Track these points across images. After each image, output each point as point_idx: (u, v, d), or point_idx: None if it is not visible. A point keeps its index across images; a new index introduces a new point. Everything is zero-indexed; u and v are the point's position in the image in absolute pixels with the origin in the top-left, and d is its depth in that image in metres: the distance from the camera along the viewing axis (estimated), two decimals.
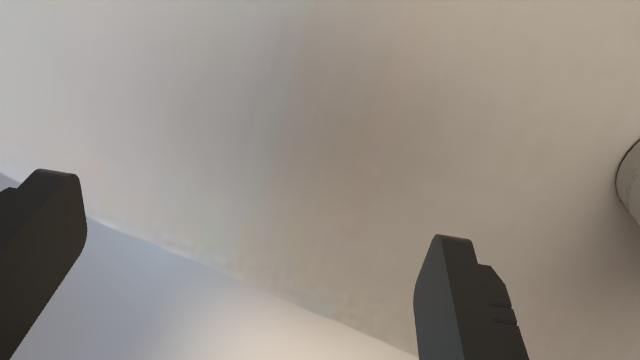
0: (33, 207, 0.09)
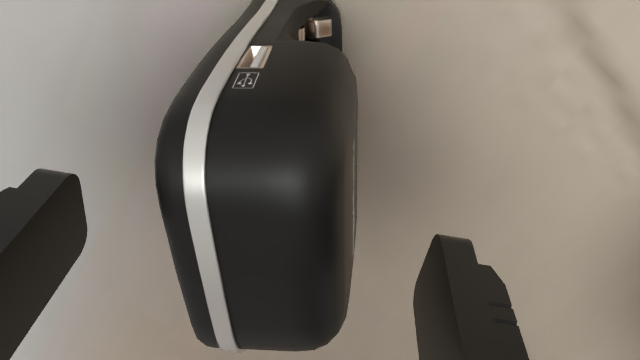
0: (33, 207, 0.09)
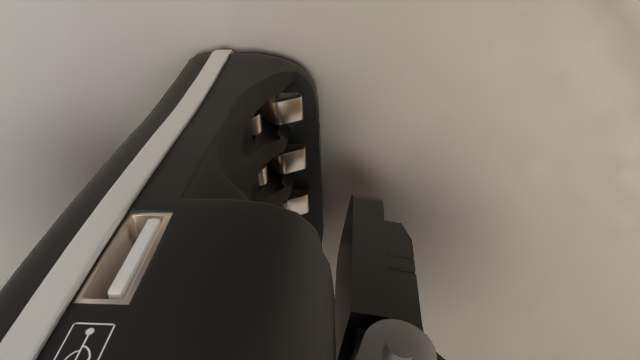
0: None
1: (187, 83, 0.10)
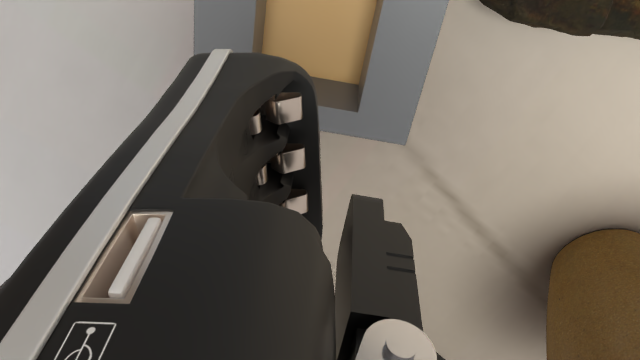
0: None
1: (187, 82, 0.10)
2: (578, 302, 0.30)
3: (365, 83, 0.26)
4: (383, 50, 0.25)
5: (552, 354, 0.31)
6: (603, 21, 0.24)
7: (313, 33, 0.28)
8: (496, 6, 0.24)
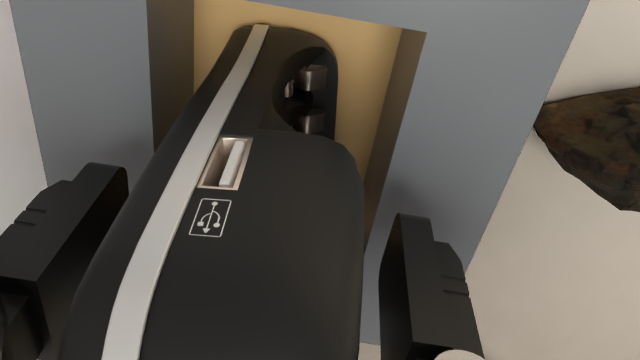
0: (90, 198, 0.10)
1: (237, 49, 0.13)
2: None
3: None
4: None
5: None
6: None
7: None
8: (592, 183, 0.14)
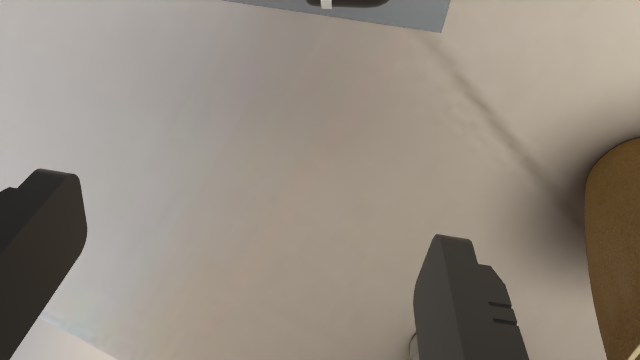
0: (33, 207, 0.09)
1: None
2: (623, 200, 0.29)
3: None
4: None
5: (596, 256, 0.30)
6: None
7: None
8: None
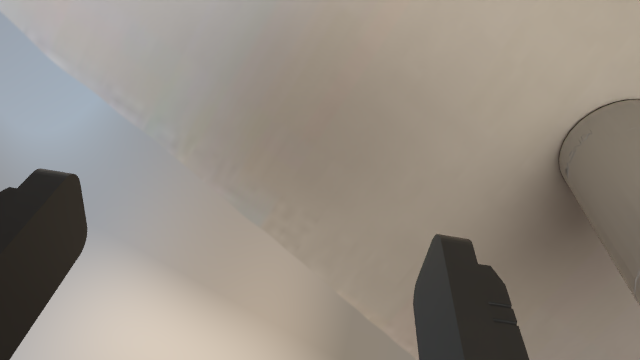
0: (33, 207, 0.09)
1: None
2: None
3: None
4: None
5: None
6: None
7: None
8: None
